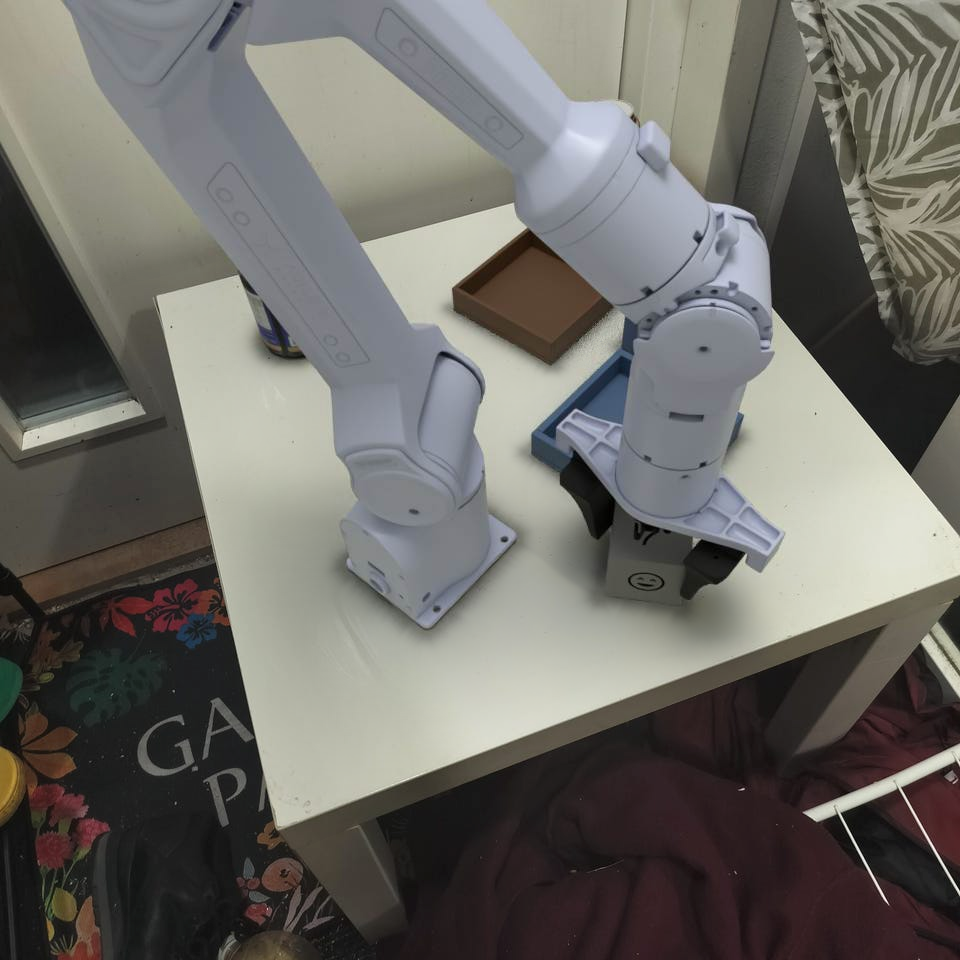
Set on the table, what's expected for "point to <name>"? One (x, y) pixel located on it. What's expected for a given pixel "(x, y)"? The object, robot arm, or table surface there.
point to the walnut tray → (530, 298)
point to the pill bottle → (269, 325)
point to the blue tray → (593, 408)
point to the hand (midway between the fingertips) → (647, 557)
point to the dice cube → (645, 560)
